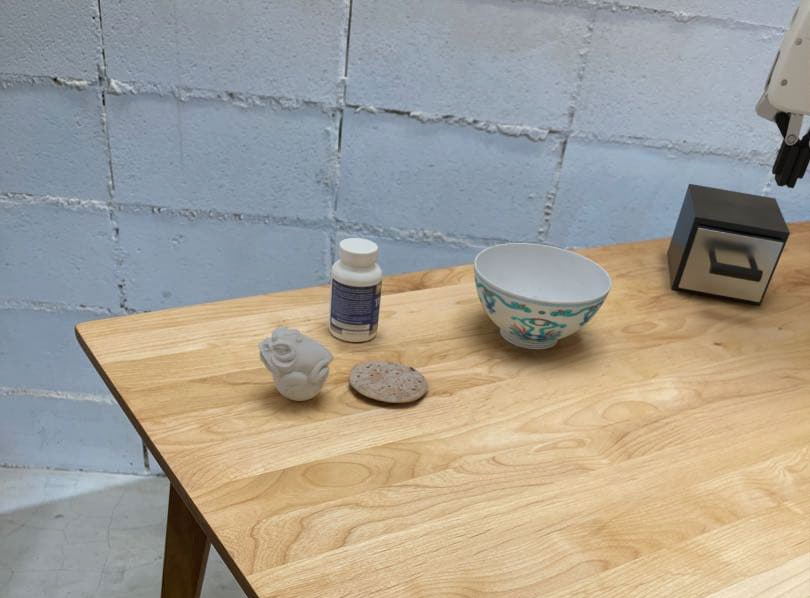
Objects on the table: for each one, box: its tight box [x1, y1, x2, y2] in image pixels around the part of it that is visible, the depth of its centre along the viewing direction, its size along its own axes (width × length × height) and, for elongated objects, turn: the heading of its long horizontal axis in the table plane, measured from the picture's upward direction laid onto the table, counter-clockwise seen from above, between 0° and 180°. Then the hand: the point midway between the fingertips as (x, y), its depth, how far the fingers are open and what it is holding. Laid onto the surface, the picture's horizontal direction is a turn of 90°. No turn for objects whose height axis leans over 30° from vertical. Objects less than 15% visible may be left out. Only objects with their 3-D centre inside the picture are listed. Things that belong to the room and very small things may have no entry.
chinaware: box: [473, 242, 613, 350], centre depth 93 cm, size 15×15×8 cm
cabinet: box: [667, 183, 791, 306], centre depth 111 cm, size 13×12×10 cm
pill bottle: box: [328, 237, 383, 343], centre depth 89 cm, size 5×5×10 cm
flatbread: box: [348, 360, 429, 404], centre depth 84 cm, size 8×8×1 cm
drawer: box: [678, 224, 783, 302], centre depth 108 cm, size 17×10×8 cm, turn 169°
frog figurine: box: [257, 325, 334, 402], centre depth 79 cm, size 6×7×7 cm
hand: (783, 182), depth 89 cm, fingers closed
